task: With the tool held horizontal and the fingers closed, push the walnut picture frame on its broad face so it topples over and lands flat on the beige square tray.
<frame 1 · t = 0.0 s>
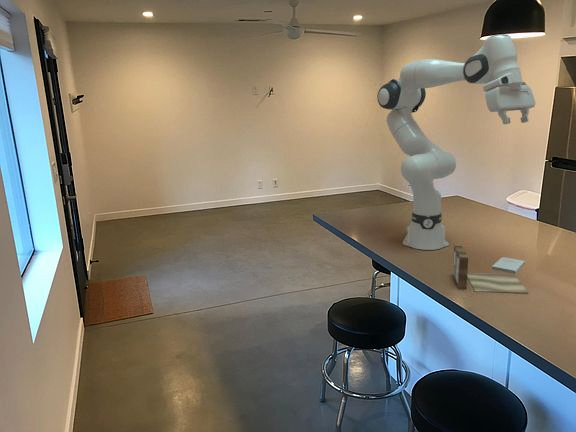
hand: (516, 123, 154), 52 cm above the table, tool tilted 20°, fingers open, 8 cm apart
beige square tray: (495, 283, 157), on the table
walnut picture frame: (459, 282, 159), on the table
external hard drive: (508, 267, 172), on the table
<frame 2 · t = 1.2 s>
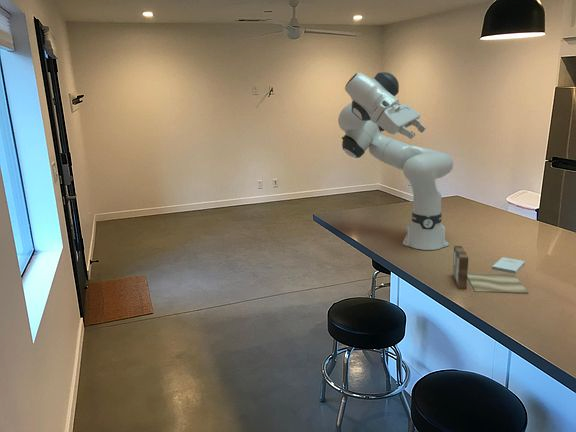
hand: (418, 133, 152), 50 cm above the table, tool tilted 55°, fingers open, 8 cm apart
nothing on the table moved.
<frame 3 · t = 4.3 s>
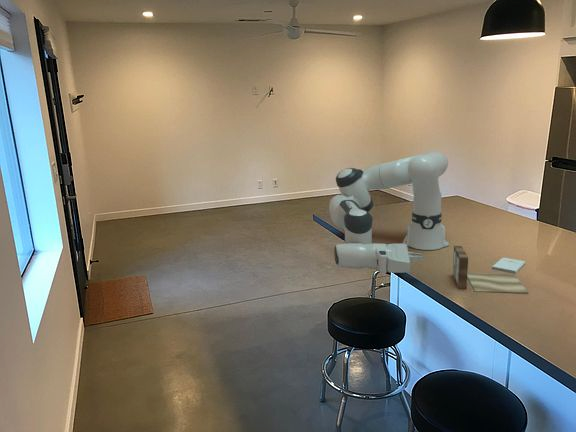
hand: (422, 257, 159), 9 cm above the table, tool horizontal, fingers closed
nothing on the table moved.
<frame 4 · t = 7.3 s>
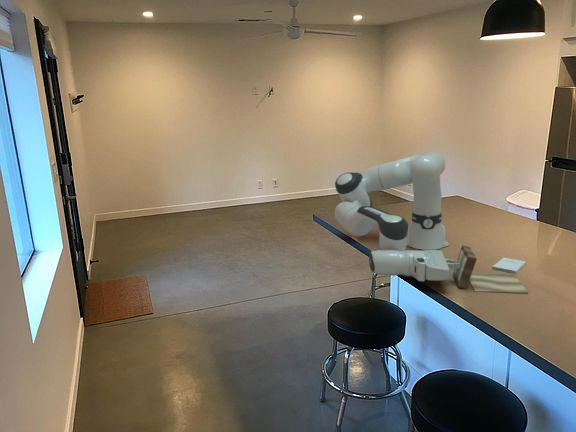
hand: (459, 264, 157), 6 cm above the table, tool horizontal, fingers closed
walnut picture frame: (459, 281, 159), on the table, tilted 14°
everything else where it was.
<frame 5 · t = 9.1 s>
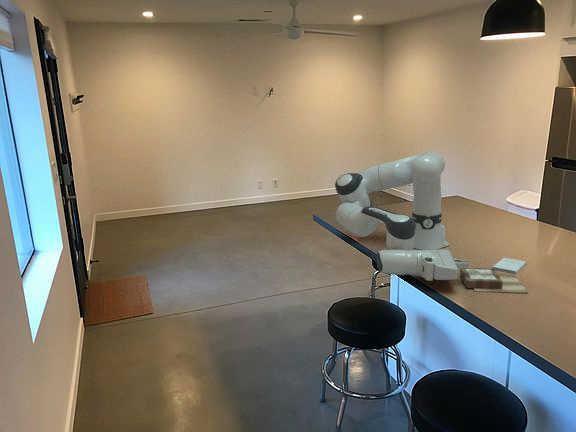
hand: (467, 264, 157), 7 cm above the table, tool horizontal, fingers closed
walnut picture frame: (463, 277, 159), point 2 cm above the table, tilted 90°, touching beige square tray
everything else where it was.
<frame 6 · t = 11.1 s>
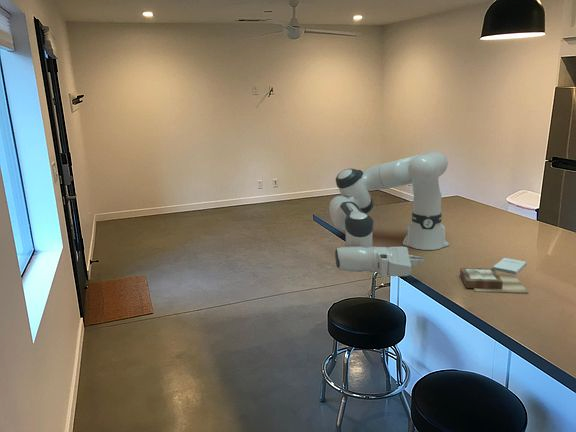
hand: (423, 260, 160), 7 cm above the table, tool horizontal, fingers closed
nothing on the table moved.
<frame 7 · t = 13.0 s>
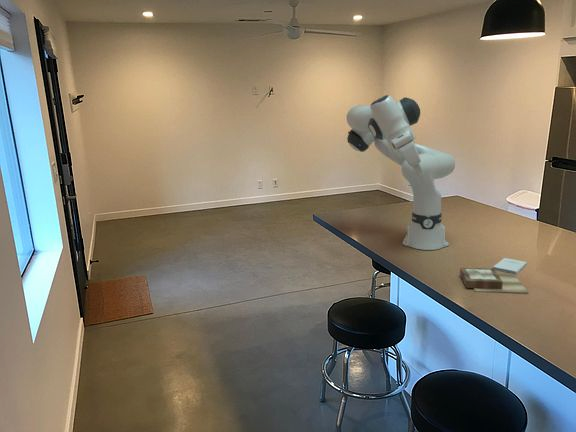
hand: (421, 175, 158), 35 cm above the table, tool tilted 30°, fingers closed
nothing on the table moved.
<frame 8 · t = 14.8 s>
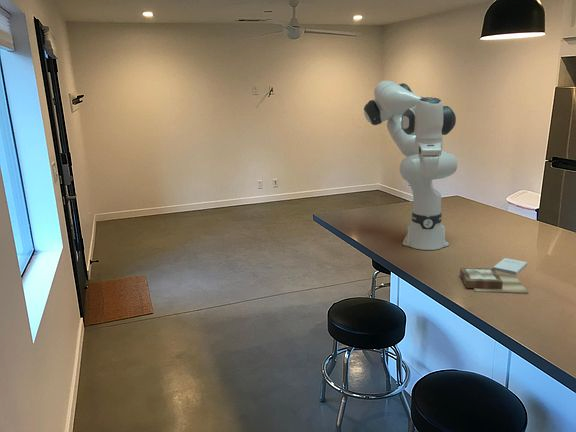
hand: (426, 187, 161), 31 cm above the table, tool pointing down, fingers closed
at the end: walnut picture frame tilted 90°; walnut picture frame inside the target area (8.3 cm from its centre), point 1.6 cm above the table; walnut picture frame touching beige square tray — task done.
